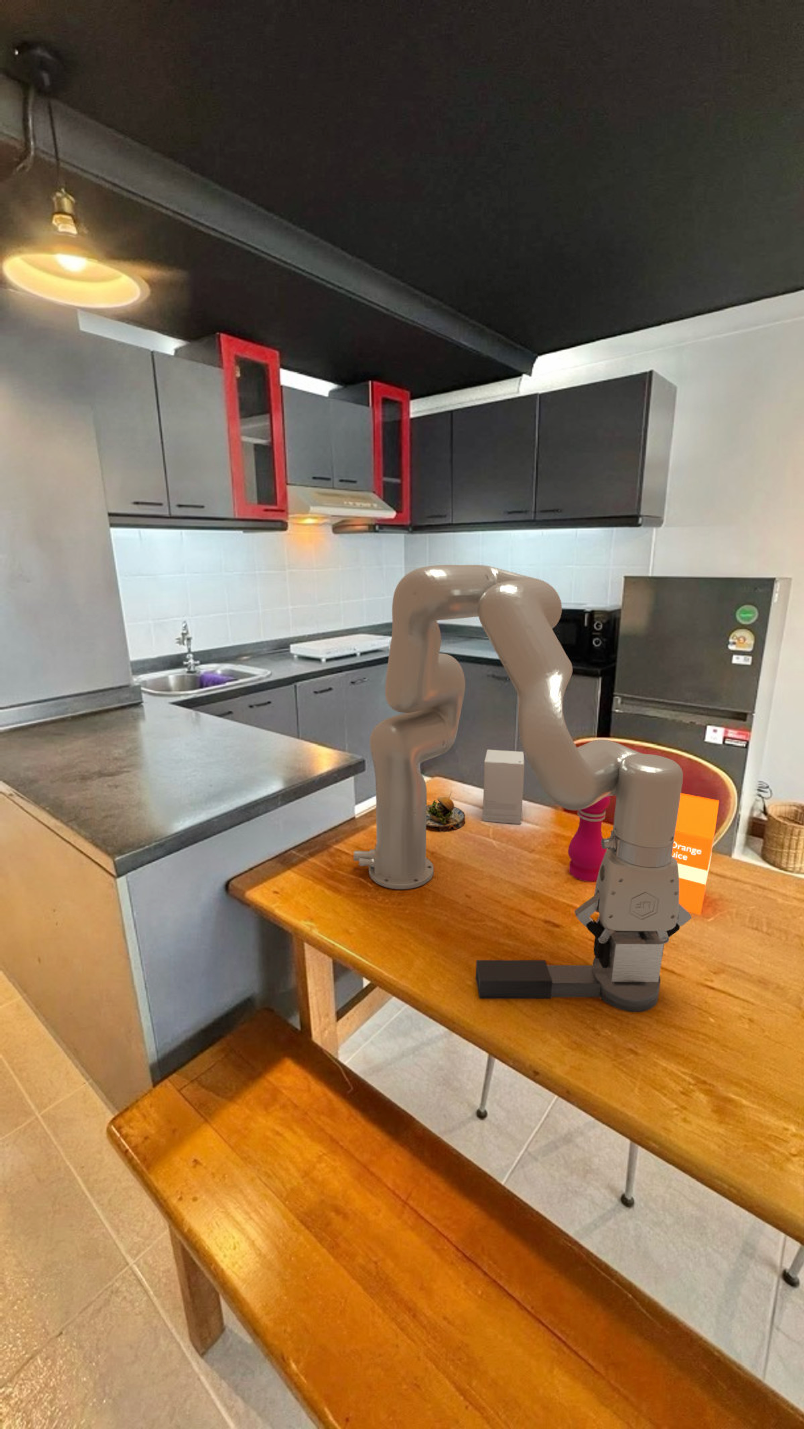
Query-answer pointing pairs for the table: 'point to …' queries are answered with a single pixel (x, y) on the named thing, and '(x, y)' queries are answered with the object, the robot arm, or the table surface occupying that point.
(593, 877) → the pepper mill
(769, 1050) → the table surface
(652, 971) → the socket
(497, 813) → the supplement box
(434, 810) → the burger
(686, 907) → the orange juice
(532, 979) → the ratchet
